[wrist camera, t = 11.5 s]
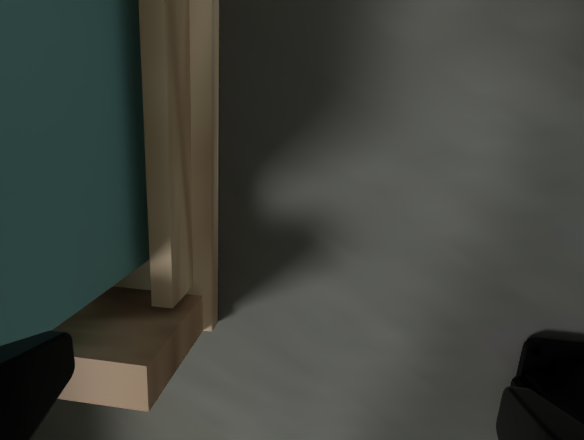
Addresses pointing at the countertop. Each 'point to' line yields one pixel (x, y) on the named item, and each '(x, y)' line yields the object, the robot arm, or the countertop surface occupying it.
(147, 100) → the book rack
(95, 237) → the teal book
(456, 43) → the countertop surface
